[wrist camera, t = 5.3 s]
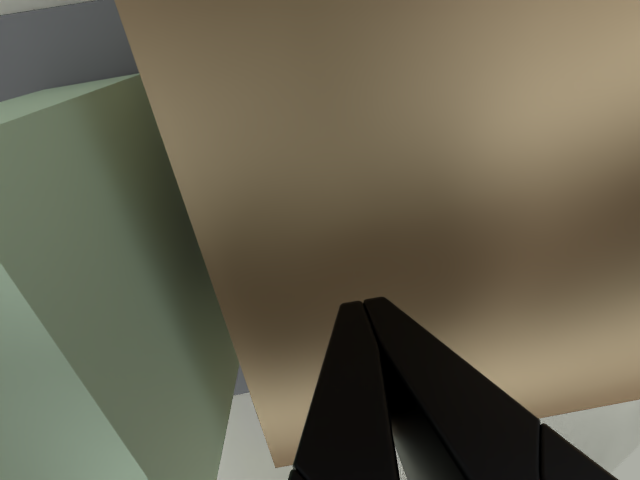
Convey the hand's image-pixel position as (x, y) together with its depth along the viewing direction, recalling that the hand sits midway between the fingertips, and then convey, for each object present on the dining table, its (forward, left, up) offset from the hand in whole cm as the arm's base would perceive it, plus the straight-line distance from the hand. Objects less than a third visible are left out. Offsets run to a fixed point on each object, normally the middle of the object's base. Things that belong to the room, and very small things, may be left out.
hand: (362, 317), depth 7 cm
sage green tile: (0, +4, -2) cm, 4 cm away
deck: (0, -4, -5) cm, 6 cm away
